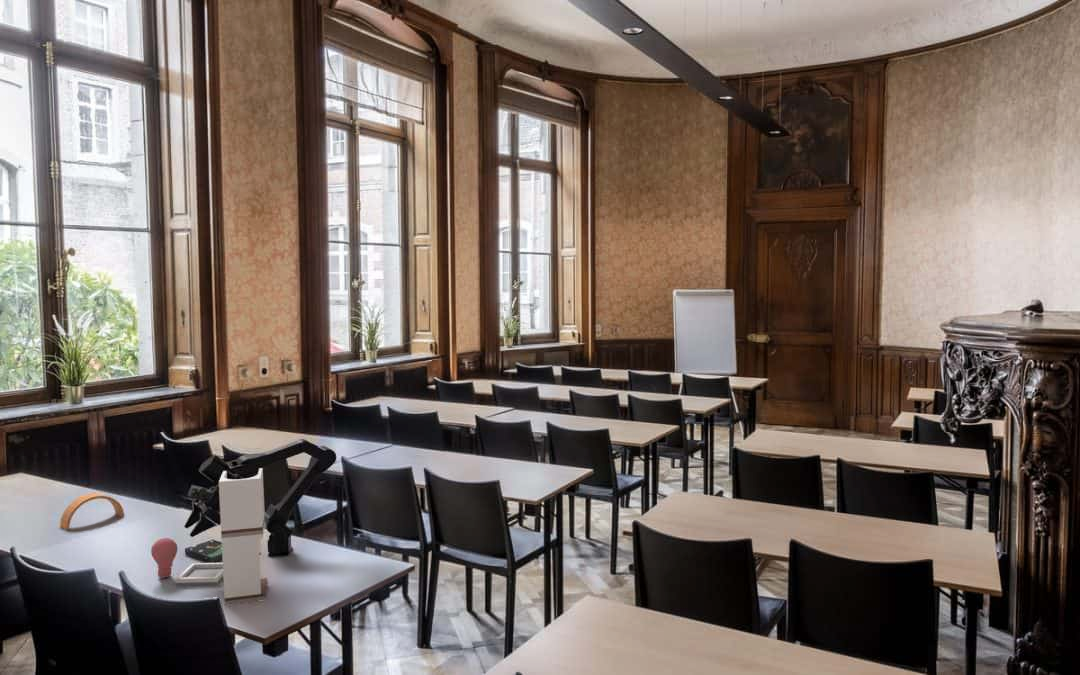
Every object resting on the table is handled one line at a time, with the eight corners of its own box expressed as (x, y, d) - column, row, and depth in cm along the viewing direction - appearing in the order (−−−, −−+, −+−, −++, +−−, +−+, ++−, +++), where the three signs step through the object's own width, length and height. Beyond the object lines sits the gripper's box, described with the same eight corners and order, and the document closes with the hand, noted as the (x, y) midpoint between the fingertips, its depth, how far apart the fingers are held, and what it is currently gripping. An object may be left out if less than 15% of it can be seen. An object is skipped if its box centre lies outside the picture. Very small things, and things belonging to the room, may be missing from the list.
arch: (124, 516, 292) (123, 490, 291) (66, 530, 276) (64, 503, 275) (117, 513, 295) (116, 487, 294) (60, 527, 280) (58, 500, 279)
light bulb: (184, 574, 235) (182, 536, 234) (164, 583, 229) (161, 544, 228) (167, 570, 238) (165, 533, 237) (147, 579, 232) (145, 540, 230)
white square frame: (232, 569, 239) (231, 562, 239) (217, 585, 227) (216, 578, 227) (192, 570, 238) (192, 563, 238) (175, 586, 227) (175, 578, 226)
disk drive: (184, 557, 251) (211, 565, 243) (183, 548, 251) (211, 557, 243) (213, 547, 260) (240, 555, 252) (212, 539, 260) (239, 546, 251)
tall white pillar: (265, 600, 216) (260, 478, 213) (224, 605, 213) (218, 481, 210) (267, 584, 227) (262, 468, 224) (228, 589, 224) (223, 471, 221)
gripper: (198, 469, 245) (161, 509, 240) (210, 482, 230) (171, 525, 224) (225, 489, 250) (190, 528, 245) (239, 503, 235) (201, 546, 230)
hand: (188, 531), depth 236 cm, fingers open, 9 cm apart
